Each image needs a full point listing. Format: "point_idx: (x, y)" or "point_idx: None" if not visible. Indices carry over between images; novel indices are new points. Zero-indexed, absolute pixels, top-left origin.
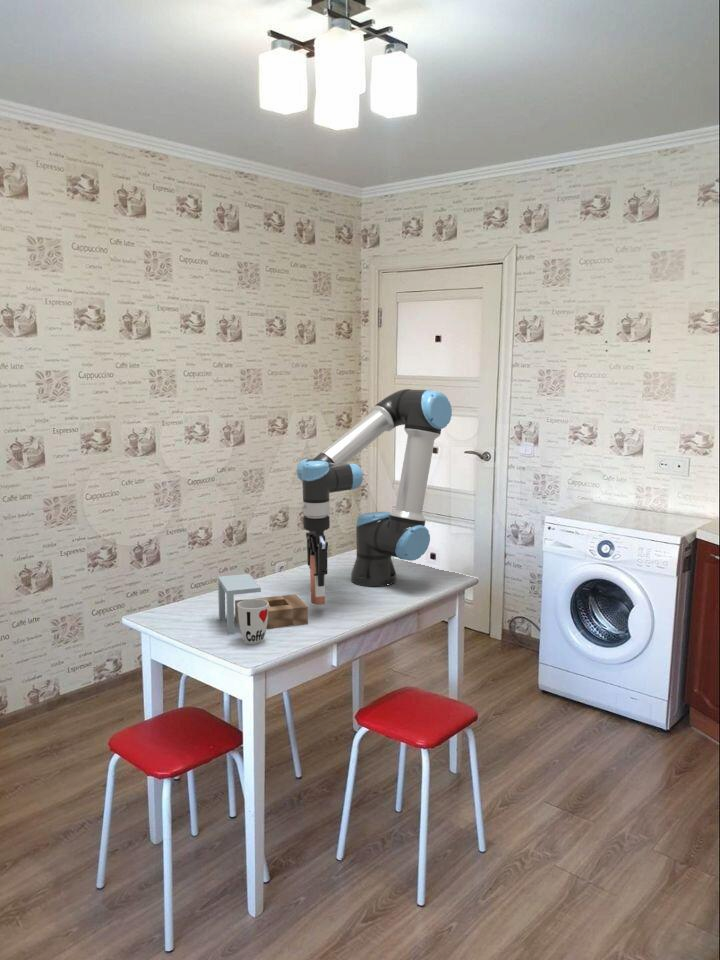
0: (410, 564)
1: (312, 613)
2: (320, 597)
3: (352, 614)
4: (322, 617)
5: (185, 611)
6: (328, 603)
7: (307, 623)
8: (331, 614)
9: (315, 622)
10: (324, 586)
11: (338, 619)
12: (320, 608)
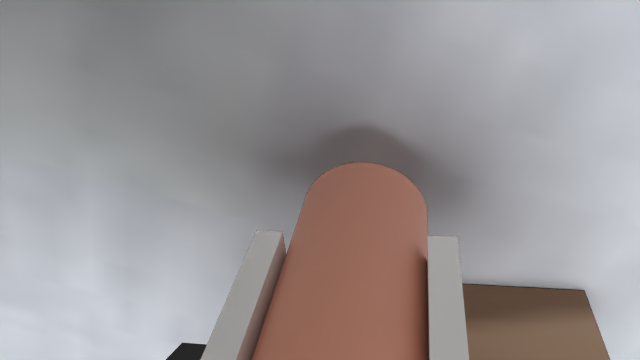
0: None
1: None
2: None
3: None
4: (494, 167)
5: None
6: (166, 25)
7: (584, 294)
8: (452, 82)
9: (579, 240)
10: (463, 326)
11: (610, 61)
12: (281, 122)
